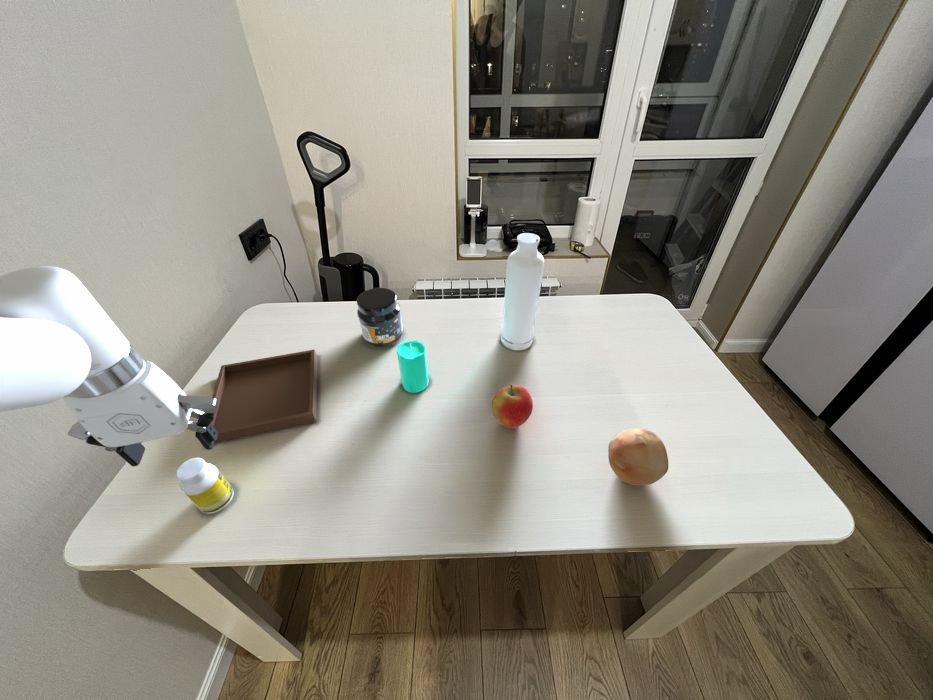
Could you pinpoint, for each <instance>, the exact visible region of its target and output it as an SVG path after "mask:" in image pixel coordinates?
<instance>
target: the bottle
mask: <svg viewBox="0 0 933 700" xmlns="http://www.w3.org/2000/svg"><path fill="white" fill-rule="evenodd" d="M540 240H541V238H540V236H539V235H538V234H535V233H530V232H523V233H520V234H518V235H517V236H516V241H517V243H518V244H517V246H516V249H515V250H514V251H512V252H511V253H509V255H508V257H507V260H506V261H507V262H506V273H505V284H504V285H505V287H504V296H503V297H504V299H503V309H502V310H503V311H502V324H501V336H500V341H501V343H502V345H503V346H504V347H506V348H507V349H510V350H511V351H512V350H513V351H523V350H527V349H528V348H530V347H532V344H533V341H534V340H533V339H534V334H535V327H536V320H537V313H538V308H539V307H538V306H539V300H540V294H541V287H542V281H543V274H544V267H545V259H544V256H543V255H542V254H541V252H539V249H538V248H539V247H538V246H539V244H540Z"/></svg>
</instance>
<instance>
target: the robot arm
mask: <svg viewBox="0 0 933 700" xmlns="http://www.w3.org/2000/svg"><path fill="white" fill-rule="evenodd" d="M61 399H63V401H64V403H65V404H66V406H67V408H68V410H69V411H70V413H71V414H72V415H73V417H74V418H75V419H76V420H77V421H76V422H75V423H73V424H72V425H71V427H70V429H69V430H68V432H67V436H70V437H73V438H75V439H78V440H81V441H85V442H86V444H88V445H93V446H98V447H103V448H104V450H105V451H106V452H115V453H116V454H117V455H118V456H119V457H121V458H122V459H123V460H124V461H125V462H126V463H127V464H129V465H130V466H131V467H133V468H134V467H138V466H139V465H140V464H141V461H142V458H143V456H144V454H145V451H146V447H145V446H144V444H142V443H144V442H150V441H155V440H158V439H163V438H168V437H173V436H176V435H179V434H182V433H184V432H185V431H186V430H187V431H192V432H195V434H194V436H195V438H196V439H197V440H198V441H199V443H200V444H201V446H202V447H204V449H205V450H206V451H211V450H213V449H214V446H215V443H214V442H215V440H217V437H218V433H217V431H216V430H215V428H214V427H213V426H212V424H211V422H212V421H213V419H214V416H215V412H216V406H217V399H215V398H212V397H206V396H195V395H187V394H186V393H185V392H184V390H183V389H182V388H181V387H180V385H178V384H177V383H176V381H174V380H173V379H172V378H171V377H170V376H169V375H168V374H167V373H166V372H164V370H162V368H160V367H158V365H156V364H155V363H153V362H152V361H151V360H149V359H148V360H145V359H143V357H142V356H141V355H140V353H139V352H138V351H137V350H136V348H135V347H134V346H133V345H132V344H131V342H130V341H129V340H128V339H127V338H126V337H125V335H124V333H122V331H121V330H120V329H119V327H118V326H117V325H116V324H115V322H114V321H113V320H112V319H111V317H110V316H109V315H108V314H107V312H106V311H105V310H104V309H103V308H102V306H101V304H100V303H98V301H97V300H96V299H95V297H94V296H93V295H92V293H90V291H89V290H88V289H87V287H86V286H85V285H84V284H83V283H82V281H81V280H80V279H79V278H78V277H77V276H76V275H75V274H74V273H72V272H71V271H69V270H68V269H65V268H62V267H59V266H52V265H41V266H39V265H38V266H31V267H26V268H22V269H17V270H14V271H11V272H7V273H4V274H3V275H0V413H3V412H9V411H14V410H21V409H28V408H34V407H38V406H40V407H41V406H43V405H48V404H51V403H53V402H56V401H59V400H61ZM190 418H191V419H192V418H193V419H196V422H195V421H192V420H190Z"/></svg>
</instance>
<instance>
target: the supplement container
mask: <svg viewBox="0 0 933 700" xmlns="http://www.w3.org/2000/svg"><path fill="white" fill-rule="evenodd" d="M397 296H398V295H397V294H396V293H395V291H393V290H392V289H390V288H388V287H387V288H386V287H373V288H368V289H366V290H364V291H363V292H361V293H360V294H359V295H358V296H357V298H356V305H357V310H356V311H357V312H356V315H357V317H358V320H359V321H358V322H359V324H360V329H361V333H362V339H363V340H364V342H365V343H366V344H367V345H370V346H371V347H375V348H387V347H390V346H393V345H395V344H397V343H398V342H399V341H401V339H402V338H403V336H404V327H403V321H402V314H401V305H400V304H399V302H398V297H397Z"/></svg>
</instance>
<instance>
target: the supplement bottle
mask: <svg viewBox="0 0 933 700" xmlns="http://www.w3.org/2000/svg"><path fill="white" fill-rule="evenodd" d="M175 475H176V478H177V480H178V481H179V488H180V491H181V492H182V493H183V494H184V495H185V496H186V497H187V498H188V499H189V500H190V501H191V502H192V503H193V505H194V506H196V507H197V509H199V511H200V512H201V513H202V514H207V515H208V514H209V515H210V514H215V513H218V512H220V511H222V510H223V509H225V508H226V507H227V506H228V505H229V504H230V503H231V501H232V500H233V497H234V494H235V493H234V489H233V487H232V485H231V484H230V483H229V482H228V480H227V479H226V478H225V476H224V475H223V474H222V472H221V471H220V470H219V468H217V467H216V465H214V464H212V463H209V462H206V460H205V459H203V458H201V457H193V458H192V457H191V458H190V459H187V460H185V461H184V462H183V463H181V465H180V466H178V468H177V470H176V473H175Z"/></svg>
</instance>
